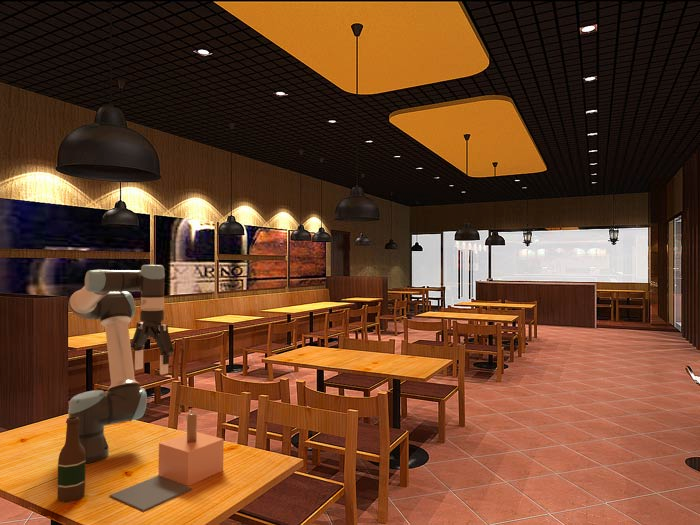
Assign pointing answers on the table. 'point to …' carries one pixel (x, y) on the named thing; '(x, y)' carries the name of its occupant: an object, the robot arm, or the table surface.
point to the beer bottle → (71, 465)
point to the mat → (150, 493)
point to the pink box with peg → (190, 455)
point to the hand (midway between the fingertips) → (151, 371)
